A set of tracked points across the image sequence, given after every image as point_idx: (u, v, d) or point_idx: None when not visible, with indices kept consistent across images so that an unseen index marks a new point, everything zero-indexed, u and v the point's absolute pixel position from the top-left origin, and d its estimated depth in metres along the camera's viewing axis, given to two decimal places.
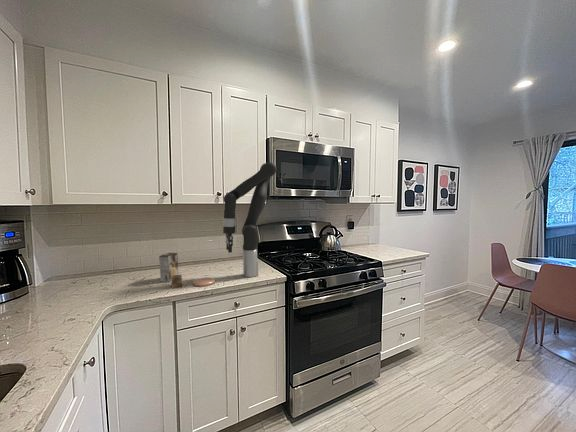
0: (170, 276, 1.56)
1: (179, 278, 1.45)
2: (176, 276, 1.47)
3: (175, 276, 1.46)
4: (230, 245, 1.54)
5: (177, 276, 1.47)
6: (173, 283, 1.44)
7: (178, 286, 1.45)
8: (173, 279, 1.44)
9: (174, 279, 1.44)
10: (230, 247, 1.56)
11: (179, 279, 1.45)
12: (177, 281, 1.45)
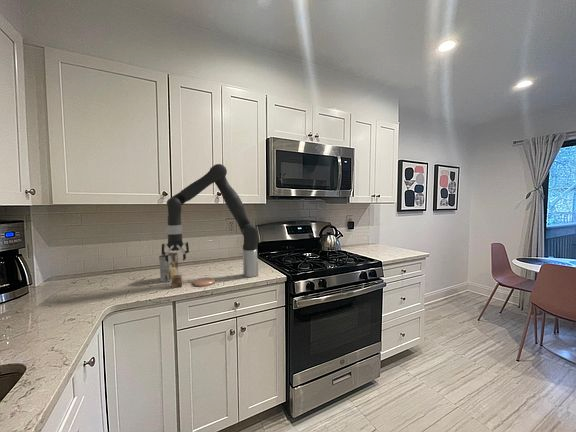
0: (170, 276, 1.56)
1: (179, 278, 1.45)
2: (176, 276, 1.47)
3: (175, 276, 1.46)
4: (188, 251, 1.48)
5: (177, 276, 1.47)
6: (173, 283, 1.44)
7: (178, 286, 1.45)
8: (173, 279, 1.44)
9: (174, 279, 1.44)
10: None
11: (179, 279, 1.45)
12: (177, 281, 1.45)
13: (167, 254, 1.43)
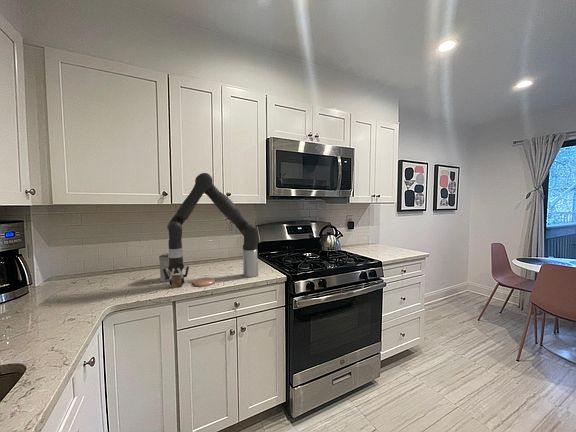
0: None
1: (179, 278, 1.45)
2: (176, 276, 1.47)
3: (175, 276, 1.46)
4: None
5: (177, 276, 1.47)
6: (173, 283, 1.44)
7: (178, 286, 1.45)
8: (173, 279, 1.44)
9: (174, 279, 1.44)
10: (183, 278, 1.48)
11: (179, 279, 1.45)
12: (177, 281, 1.45)
13: (171, 278, 1.45)
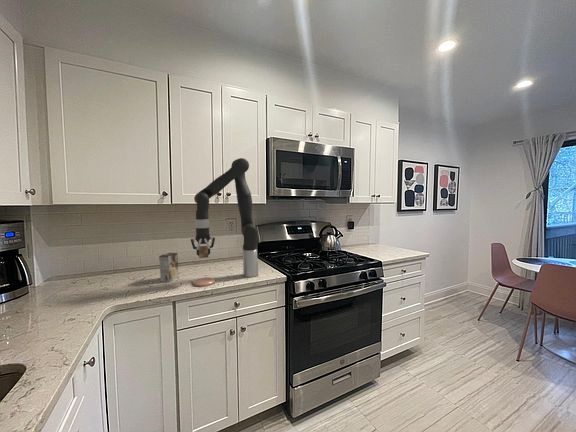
0: (170, 276, 1.56)
1: (206, 248, 1.49)
2: (203, 246, 1.50)
3: (202, 246, 1.50)
4: None
5: (204, 246, 1.50)
6: (200, 253, 1.48)
7: (205, 256, 1.49)
8: (200, 249, 1.48)
9: (201, 249, 1.48)
10: (209, 249, 1.52)
11: (206, 249, 1.49)
12: (204, 251, 1.49)
13: (198, 248, 1.49)
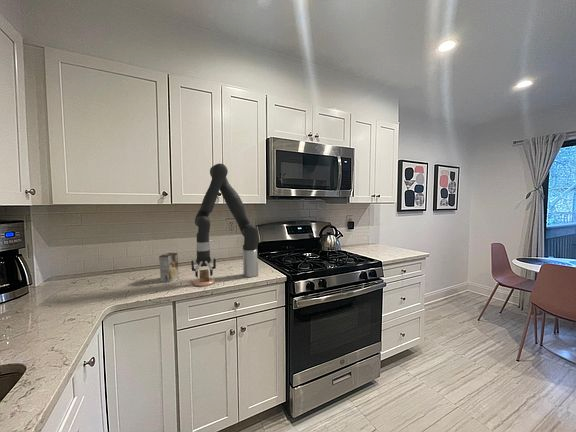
0: (170, 276, 1.56)
1: (207, 272, 1.50)
2: (203, 270, 1.52)
3: (202, 271, 1.52)
4: (215, 267, 1.54)
5: (204, 270, 1.52)
6: (201, 277, 1.49)
7: (205, 280, 1.50)
8: (201, 273, 1.49)
9: (202, 273, 1.49)
10: None
11: (206, 274, 1.50)
12: (205, 275, 1.50)
13: (197, 270, 1.49)
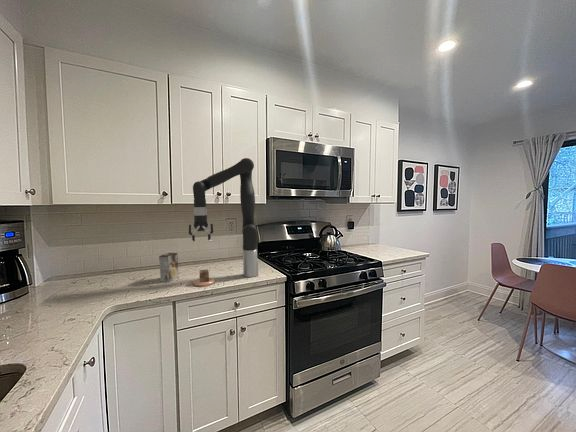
0: (170, 276, 1.56)
1: (207, 272, 1.50)
2: (203, 270, 1.52)
3: (202, 271, 1.52)
4: None
5: (204, 270, 1.52)
6: (201, 277, 1.49)
7: (205, 280, 1.50)
8: (201, 273, 1.49)
9: (202, 273, 1.49)
10: (209, 234, 1.59)
11: (206, 274, 1.50)
12: (205, 275, 1.50)
13: None
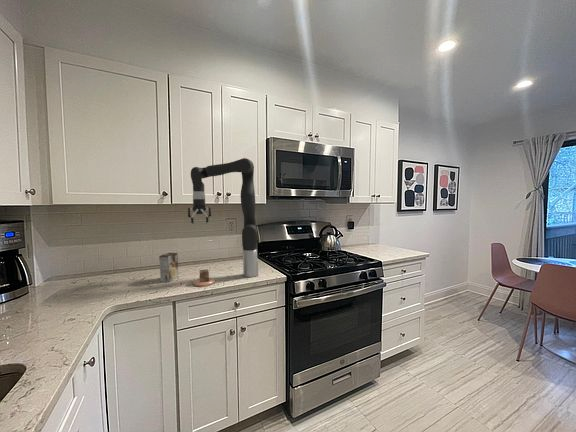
0: (170, 276, 1.56)
1: (207, 272, 1.50)
2: (203, 270, 1.52)
3: (202, 271, 1.52)
4: (210, 215, 1.69)
5: (204, 270, 1.52)
6: (201, 277, 1.49)
7: (205, 280, 1.50)
8: (201, 273, 1.49)
9: (202, 273, 1.49)
10: (207, 218, 1.69)
11: (206, 274, 1.50)
12: (205, 275, 1.50)
13: (192, 217, 1.64)
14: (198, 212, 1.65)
